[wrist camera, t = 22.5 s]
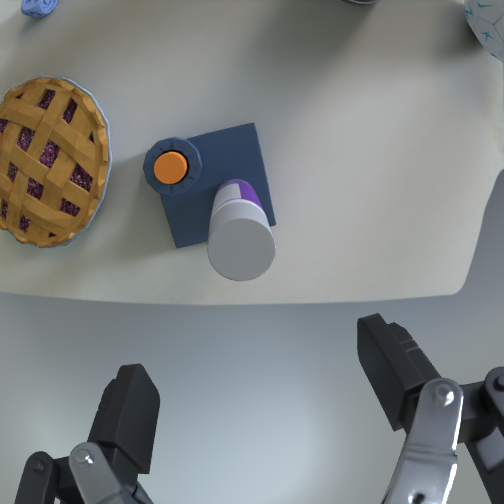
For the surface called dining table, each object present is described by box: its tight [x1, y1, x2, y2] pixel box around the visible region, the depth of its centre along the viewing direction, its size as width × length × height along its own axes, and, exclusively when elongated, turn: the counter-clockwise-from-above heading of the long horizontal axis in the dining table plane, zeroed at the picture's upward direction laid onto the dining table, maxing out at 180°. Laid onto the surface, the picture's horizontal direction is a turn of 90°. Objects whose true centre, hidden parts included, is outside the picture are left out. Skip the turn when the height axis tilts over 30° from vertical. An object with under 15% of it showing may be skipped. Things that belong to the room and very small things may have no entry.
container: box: [207, 179, 276, 281], centre depth 26 cm, size 5×5×15 cm
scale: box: [143, 123, 276, 248], centre depth 33 cm, size 12×12×4 cm
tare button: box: [154, 152, 187, 184], centre depth 29 cm, size 3×3×2 cm
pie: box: [0, 75, 113, 248], centre depth 28 cm, size 22×22×5 cm
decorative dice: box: [21, 0, 58, 17], centre depth 20 cm, size 4×4×4 cm
